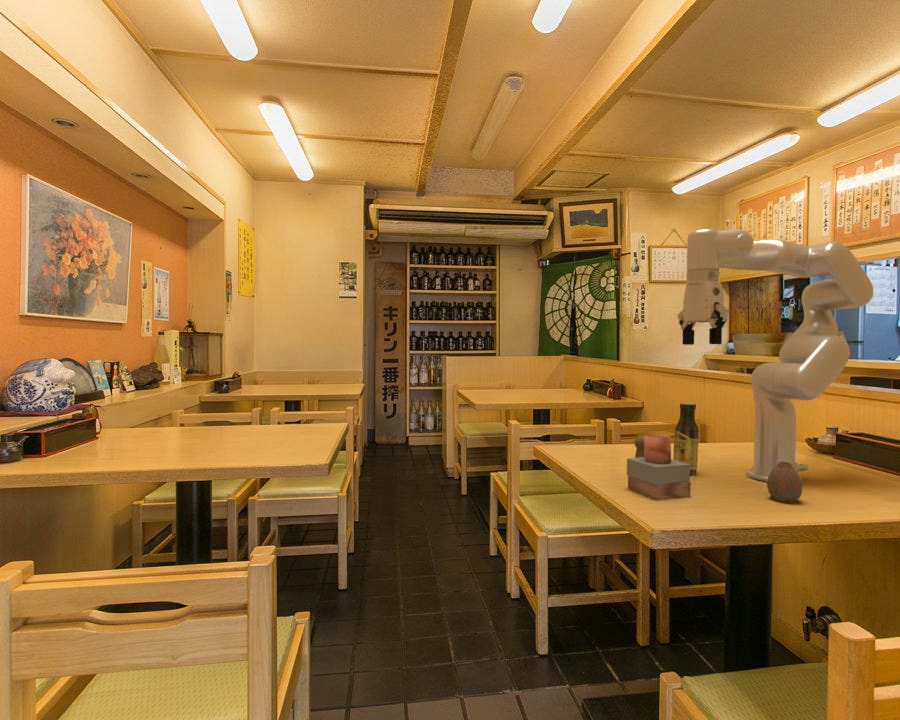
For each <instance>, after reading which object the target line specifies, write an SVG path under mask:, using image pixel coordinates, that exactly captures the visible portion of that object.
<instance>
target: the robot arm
mask: <svg viewBox="0 0 900 720" xmlns="http://www.w3.org/2000/svg"><path fill="white" fill-rule="evenodd" d="M686 239H687V243H686V244H687V245H686V248H687V249H686V257H687V258H686V285H685V290H684V296H683V306H682V310H681V311H680V312H679V313H678V314H677V318H678V324H679V325H680V329H681V330H682V345H684V346H685V345H691V346H692V345H695V329H694V327H695V326H696V324H697V323H709V325H710V328H709V329H708V331H709V335H708V339H709V341H708V344H709V345H722V341H723V338H722V337H723V328H725V324H726V322H727V321H728V317H729V315H730V309H729V308H727V307H725V299H724V291H723V286H722V282H721V281H720V275H721V272H720V268H722V269H729V270H740V271H742V270H743V271H744V270H745V271H753V272H754V271H755V272H770V273H777V274H781V275H785V276H789V277H790V276H791V277H795V278H801V279H803V278H804V279H806V278H807V279H808V278H817V277H822V276H830V275H831V276H832V278H831V279H830V278H829V279H823V280H818V281H814V282H812V283H810V284H808V285H807V286H805V288H804V290H803V291H802V294H801V304H802V307H803V321H802V323H801V324H800V326H799V327H798V328H797V329H796V330H795V331H794V333H792V335H791V336H789V338H788V339H787V340H786V341H785V343H784V344H783V345H782V346H781V348H780V351H779V352H778V353H779V354H778V358H779V361H778V362H777V361H774V362H765V363H762V364H759V365H758V366H757V367H756V368H755V369H754V370H753V371H752V373H751V379H750V383H751V389H752V394H753V400H754V431H753V432H754V435H753V436H754V437H753V439H754V441H753V443H754V444H753V468H750V469H747V471H746V475H747V476H748V477H749V478H751V479H754V480H758V481H761V482H767V478H768V476H769V474H770V472H771V471H772V470H773V469H774V468H775V467H776V466H777V465H778V463H779V462H789V463H791V464H792V467H793V468H794V470H795V471H796V472H797V473H798V474H799V472H807V471H808V470H809V465H808V464H807V463H799V462H796V447H797V446H796V445H797V444H796V442H797V440H796V439H797V413H796V409H795V406H794V404H793V402H792V400H794V401H812V400H816V399H817V398H818V397H821V395H823V393H825V391H826V390H827V389H828V388H829V387H830V385H831V384H832V383H833V382H834V381H835V380H836V379H837V377H839V375H840V373H842V371H843V370H844V369H845V367H846V366H847V364H848V362H849V359H850V353H851V351H850V346H849V344H848V343H847V341H846V340H845V339H844V338H843V337H841V336H839V335H837V334H838V331H839V328H838V323H837V322H836V320H835V318H834V316H833V313H832V311H833V310H834V311H835V310H846V309H847V310H849V309H858V308H862V307H864V306H866V305H868V304H869V303H870V301H871V300H872V298H873V296H874V287H873V283H872V281H871V279H870V278H869V276H868V274H867V273H866V271H865V270H864V268H863V267H862V265H861V263H860V262H859V261H858V259H857V258H856V256H855V255H854V253H852V251H851V250H850V249H849V248H848V247H847V246H846V245H845V244H843V243H842V242H839V241H834V240H833V241H828V242H825V243H824V242H823V243H819V244H814V245H805V244H801V243H795V242H791V241H786V240H782V239H762V240H757V241H756V240H755V241H754V238H753V235H752V234H751V233H750V232H748V231H747V230H745V229H742V228H741V229H738V228H736V229H735V228H734V229H724V230H722V229H721V230H716V229H712V228H702V229H696V230H693V231H691V232H690V233H689V234H688V235H687V238H686ZM799 476H800V478H801V480H802V481H803V477H802V476H801V475H799Z"/></svg>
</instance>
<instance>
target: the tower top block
mask: <svg viewBox="0 0 900 720" xmlns="http://www.w3.org/2000/svg"><path fill="white" fill-rule="evenodd" d="M626 475H627V476H628V475H630V476H633V477H635V478H638V479H641V480H644V481H647V482H650V483H652V484H655V485H658V484H668V483H678V482H688V481H689V482H691V481H690V480H691V479H690V478H691V475H690V464H686V463H683V462H679V461H675V460H673V458H671V462H670V463H664V464H659V463H650V462H646V461H645V460H644V457H640V458H635V457H631V458H630V457H629V458H628V457H627V458H626Z"/></svg>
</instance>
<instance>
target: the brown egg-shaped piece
mask: <svg viewBox="0 0 900 720" xmlns="http://www.w3.org/2000/svg"><path fill="white" fill-rule="evenodd" d="M800 476H801V475H800V474H799V472H798V473H797V472H796V471H795V470H794V468H793V467H792V464H791V463H789V462H779V463H778V465H777V466H776V467H775V468H774V469H773V470H772V471H771V472H770V474H769V476H768V478H767V481H766V487H767V491H768V494H769V495H770V497H771V498H772V499H774V500H775V501H778V502H782V503H795V502H796V501H798V500H799V499H800V498H801V497H802V493H803V488H804V487H803V486H804V485H803V479H802V480H801V478H800Z"/></svg>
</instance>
